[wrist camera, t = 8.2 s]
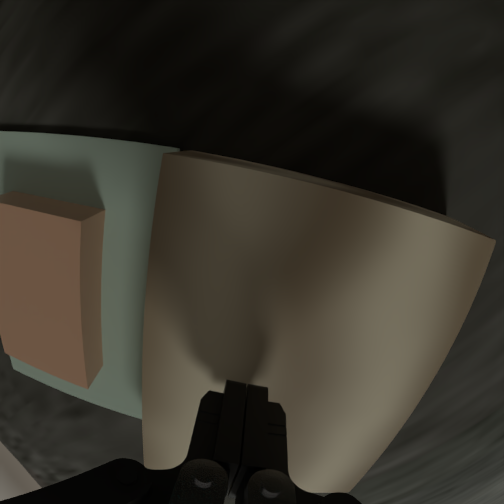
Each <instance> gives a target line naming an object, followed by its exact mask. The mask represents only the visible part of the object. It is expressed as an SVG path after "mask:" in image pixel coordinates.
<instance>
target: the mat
mask: <svg viewBox="0 0 504 504" xmlns="http://www.w3.org/2000/svg"><path fill="white" fill-rule="evenodd" d="M170 152H180V148H174V147H167V146H161V145H154V144H147V143H140V142H132V141H124V140H116V139H108V138H98V137H89V136H78V135H66V134H53V133H38V132H17V131H0V195H1V194H5V193H8V192H11V191H16V192H21V193H26V194H31V195H36V196H41V197H46V198H51V199H56V200H61V201H66V202H70V203H75V204H80V205H85V206H90V207H95V208H100V209H104V210H105V221H104V235H103V251H102V276H101V328H102V353H103V366H102V368H101V370H100V371H99V373H98V374H97V376H96V377H95V379H94V381H93V382H92V384H91V385H90V387H89V389H86V388H83V387H80V386H78V385H75V384H73V383H70V382H68V381H65V380H63V379H60V378H58V377H56V376H53V375H51V374H49V373H46V372H44V371H42V370H40V369H37V368H35V367H33V366H31V365H29V364H27V363H25V362H22V361H20V360H18V359H16V358H14V357H12V356H10V358H11V362H12V366H13V369H15V370H17V371H19V372H21V373H23V374H25V375H27V376H29V377H31V378H33V379H36V380H38V381H40V382H42V383H44V384H47V385H49V386H51V387H53V388H56V389H58V390H61V391H63V392H65V393H68V394H70V395H73V396H75V397H78V398H80V399H83V400H86V401H88V402H91V403H94V404H97V405H99V406H102V407H105V408H108V409H111V410H114V411H117V412H120V413H123V414H126V415H130V416H133V417H136V418H140V419H142V353H143V328H144V310H145V295H146V282H147V270H148V260H149V250H150V240H151V232H152V224H153V216H154V208H155V201H156V194H157V187H158V181H159V174H160V168H161V162H162V156H163V153H170Z"/></svg>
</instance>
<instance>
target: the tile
mask: <svg viewBox="0 0 504 504" xmlns="http://www.w3.org/2000/svg"><path fill="white" fill-rule="evenodd" d="M104 221H105V210H104V209H100V208H95V207H90V206H85V205H80V204H75V203H70V202H66V201H61V200H56V199H51V198H46V197H41V196H36V195H31V194H26V193H21V192H16V191H11V192H8V193H5V194H1V195H0V335H1V339H2V343H3V347H4V351H5V353H7V354H8V355H10V356H12V357H14V358H16V359H18V360H20V361H22V362H25V363H27V364H29V365H31V366H33V367H35V368H37V369H40V370H42V371H44V372H46V373H49V374H51V375H53V376H56V377H58V378H60V379H63V380H65V381H68V382H70V383H73V384H75V385H78V386H80V387H83V388H86V389H89V387H90V385H91V384H92V382H93V381H94V379H95V377H96V376H97V374H98V373H99V371H100V370H101V368H102V366H103V353H102V328H101V276H102V251H103V235H104Z"/></svg>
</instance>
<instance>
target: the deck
mask: <svg viewBox="0 0 504 504" xmlns="http://www.w3.org/2000/svg"><path fill="white" fill-rule="evenodd" d="M495 243H496V240H494V239H492V238H490V237H488V236H487V235H485V234H483V233H481V232H479V231H477V230H475V229H473V228H471V227H469V226H467V225H465V224H463V223H461V222H459V221H457V220H454V219H452V218H450V217H448V216H446V215H443V214H440V213H437V212H434V211H431V210H428V209H425V208H422V207H419V206H416V205H413V204H410V203H407V202H404V201H400V200H397V199H394V198H391V197H387V196H384V195H381V194H377V193H374V192H371V191H367V190H364V189H360V188H357V187H353V186H349V185H346V184H342V183H338V182H335V181H331V180H327V179H323V178H319V177H315V176H311V175H307V174H303V173H299V172H295V171H291V170H286V169H282V168H278V167H273V166H269V165H264V164H260V163H255V162H250V161H245V160H240V159H235V158H230V157H225V156H220V155H215V154H209V153H204V152H198V151H192V150H191V151H180V152H170V153H163V156H162V162H161V168H160V174H159V181H158V187H157V194H156V201H155V208H154V216H153V224H152V232H151V240H150V250H149V260H148V270H147V282H146V295H145V310H144V328H143V353H142V429H143V453H144V466H145V467H146V468H149V469H153V470H163V469H171V468H174V467H176V466H178V465H180V464H181V463H182V462H183V461H184V460H185V458H186V456H187V453H188V449H189V445H190V441H191V437H192V433H193V429H194V425H195V421H196V416H197V412H198V408H199V404H200V400H201V398H202V397H203V396H204V395H205V394H206V393H207V392H208V391H209V390H211V391H216V392H220V393H223V391H224V387H225V383H226V380H232V381H237V382H242V383H246V384H253V385H258V386H264V387H268V401H269V402H276V403H280V404H281V406H282V408H283V410H284V412H285V413H286V428H287V436H286V437H287V450H288V472H289V476H290V478H291V480H292V481H293V482H294V483H295V484H296V485H297V486H298V487H299V488H301V489H302V490H304V491H307V492H310V493H335V492H350V490H351V489H352V488H353V487H354V486H355V485H356V484H357V483H358V482H359V480H360V479H361V478H362V477H363V476H364V475H365V474H366V472H367V471H368V470H369V469H370V468H371V466H372V465H373V464H374V463H375V462H376V460H377V459H378V458H379V457H380V455H381V454H382V453H383V452H384V450H385V449H386V448H387V446H388V445H389V444H390V442H391V441H392V440H393V439H394V437H395V436H396V434H397V433H398V432H399V430H400V429H401V428H402V426H403V425H404V423H405V422H406V420H407V419H408V418H409V416H410V415H411V413H412V412H413V410H414V409H415V407H416V406H417V404H418V403H419V401H420V400H421V398H422V396H423V395H424V393H425V392H426V390H427V388H428V387H429V385H430V384H431V382H432V380H433V379H434V377H435V375H436V373H437V372H438V370H439V368H440V366H441V365H442V363H443V361H444V359H445V358H446V356H447V354H448V352H449V350H450V348H451V346H452V344H453V342H454V341H455V339H456V337H457V335H458V333H459V331H460V329H461V327H462V324H463V322H464V320H465V318H466V316H467V314H468V312H469V309H470V307H471V305H472V303H473V300H474V298H475V296H476V293H477V291H478V289H479V286H480V284H481V281H482V279H483V276H484V274H485V271H486V268H487V266H488V263H489V260H490V257H491V255H492V252H493V249H494V246H495ZM246 387H247V386H246Z"/></svg>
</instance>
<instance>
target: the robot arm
mask: <svg viewBox="0 0 504 504" xmlns="http://www.w3.org/2000/svg"><path fill="white" fill-rule="evenodd" d="M246 386H247V387H246ZM286 436H287V428H286V413H285V412H284V410H283V408H282V406H281V404H280V403H276V402H269V401H268V387H264V386H258V385H253V384H246V383H242V382H237V381H232V380H226V383H225V387H224V391H223V393H220V392H216V391H211V390H209V391H208V392H207V393H206V394H205V395H204V396H203V397H202V398H201V400H200V404H199V408H198V412H197V416H196V421H195V425H194V429H193V433H192V437H191V441H190V445H189V449H188V453H187V456H186V458H185V460H184V461H183V462H182V463H181V464H180V465H178V466H176V467H174V468H171V469H163V470H149V469H147V468H146V467H145V466H144V465H142V464H141V463H139V462H137V461H135V460H132V459H127V458H120V459H115V460H113V461H110V462H108V463H106V464H103V465H101V466H99V467H96V468H94V469H92V470H89V471H87V472H84V473H82V474H79V475H77V476H74V477H72V478H69V479H66V480H64V481H61V482H58V483H55V484H53V485H50V486H47V487H44V488H41V489H38V490H35V491H32V492H29V493H26V494H23V495H20V496H17V497H13V498H10V499H6V500H3V501H0V504H224V500H225V497H226V496H227V493H228V491H229V493H228V497H230V498H236V499H235V504H361V503H360V502H359V501H358V500H357V499H356V498H354V497H353V496H351V495H349V494H347V493H343V492H335V493H331V494H328V495H327V496H325V497H323V496H319V495H316V494H313V493H310V492H307V491H304V490H302V489H301V488H299V487H298V486H297V485H296V484H295V483H294V482H293V481H292V480H291V478H290V476H289V472H288V450H287V437H286Z"/></svg>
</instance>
